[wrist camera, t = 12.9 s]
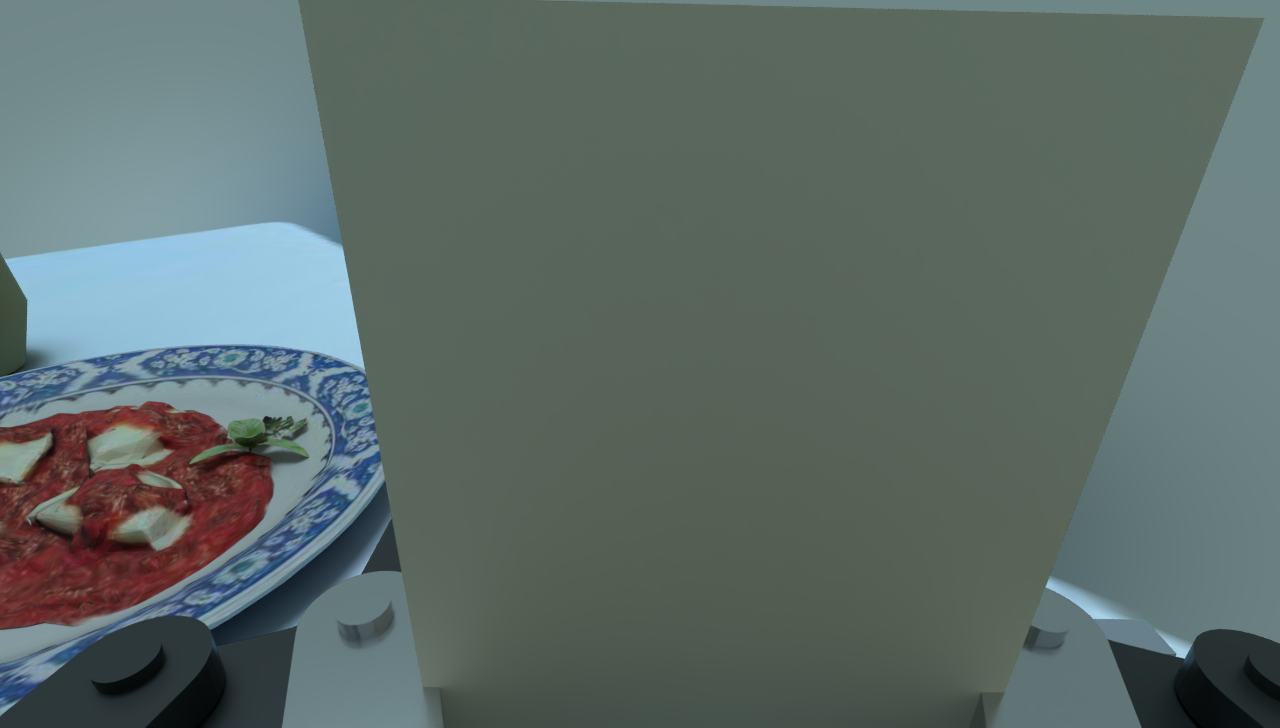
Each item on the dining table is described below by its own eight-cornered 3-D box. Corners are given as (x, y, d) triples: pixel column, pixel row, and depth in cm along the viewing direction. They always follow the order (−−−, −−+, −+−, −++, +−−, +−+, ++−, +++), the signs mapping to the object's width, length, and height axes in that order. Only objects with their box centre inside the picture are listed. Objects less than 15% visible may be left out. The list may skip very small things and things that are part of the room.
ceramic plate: (-1024, 1092, 12) (-1228, 1019, 10) (-129, 418, 33) (-159, 367, 32) (434, 663, 21) (423, 595, 19) (393, 352, 42) (387, 311, 41)
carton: (843, 1112, 9) (1263, 16, 3) (498, 1111, 9) (296, -7, 3) (772, 757, 14) (893, 49, 8) (545, 755, 14) (498, 40, 8)
